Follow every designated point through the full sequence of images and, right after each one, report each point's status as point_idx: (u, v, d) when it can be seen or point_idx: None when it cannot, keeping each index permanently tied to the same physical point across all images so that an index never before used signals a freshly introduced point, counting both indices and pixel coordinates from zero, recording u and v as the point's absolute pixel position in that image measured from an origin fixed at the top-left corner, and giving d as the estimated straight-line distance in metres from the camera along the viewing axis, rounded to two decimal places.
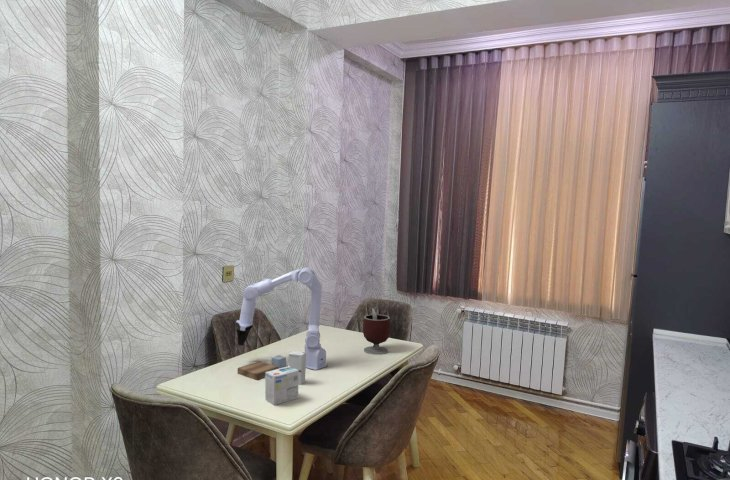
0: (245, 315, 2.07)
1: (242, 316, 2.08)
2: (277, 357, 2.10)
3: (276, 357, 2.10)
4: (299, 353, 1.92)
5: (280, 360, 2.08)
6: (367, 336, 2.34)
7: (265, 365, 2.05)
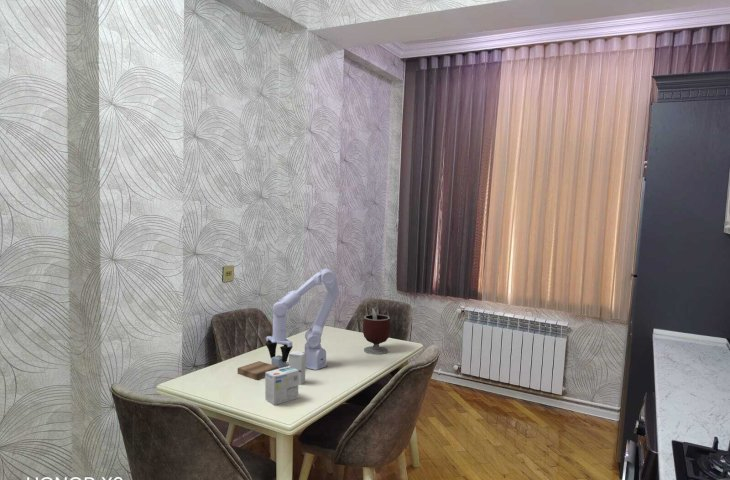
0: (283, 332, 2.08)
1: (280, 334, 2.07)
2: (277, 357, 2.10)
3: (276, 357, 2.10)
4: (299, 353, 1.92)
5: (280, 360, 2.08)
6: (367, 336, 2.34)
7: (265, 365, 2.05)
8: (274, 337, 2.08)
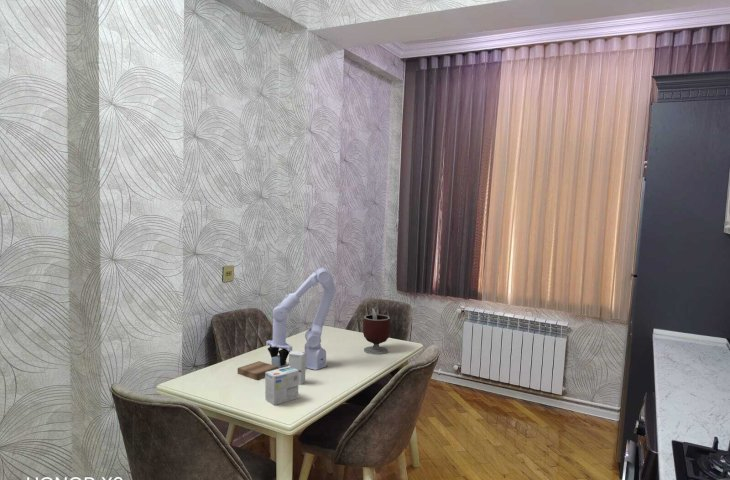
0: (283, 336, 2.08)
1: (280, 338, 2.07)
2: (277, 357, 2.10)
3: (276, 357, 2.10)
4: (299, 353, 1.92)
5: None
6: (367, 336, 2.34)
7: (265, 365, 2.05)
8: (274, 341, 2.08)
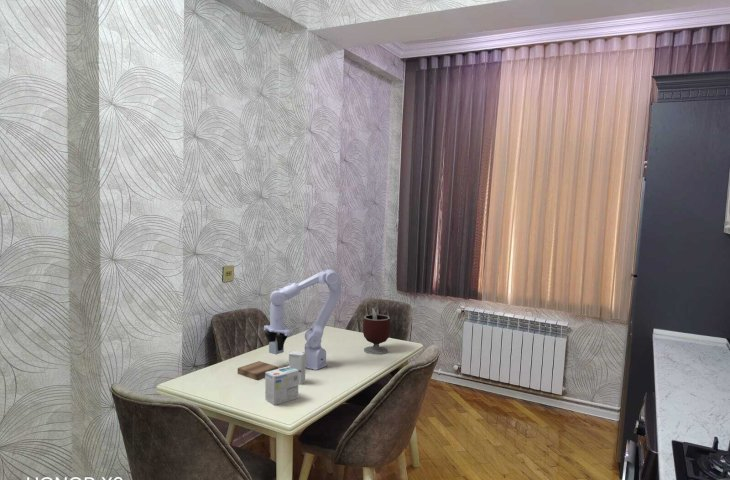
0: (280, 321, 2.06)
1: (277, 323, 2.06)
2: (274, 342, 2.09)
3: (273, 342, 2.09)
4: (299, 353, 1.92)
5: (277, 345, 2.07)
6: (367, 336, 2.34)
7: (265, 365, 2.05)
8: (271, 326, 2.06)
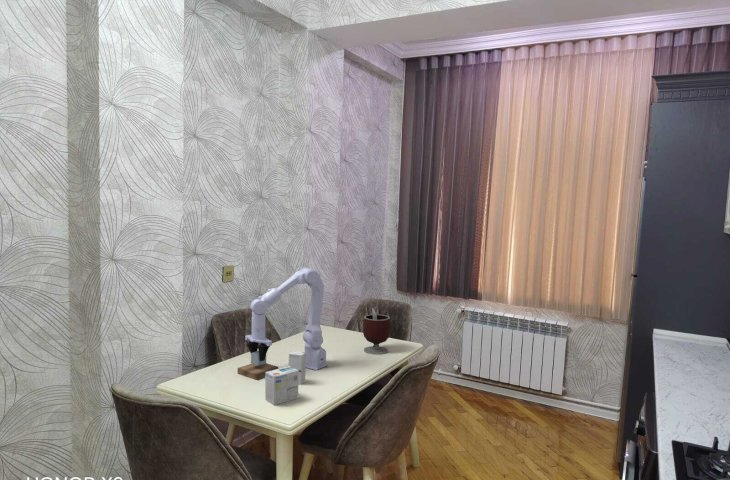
0: (262, 330, 1.99)
1: (259, 333, 1.99)
2: (257, 352, 2.02)
3: (256, 352, 2.02)
4: (299, 353, 1.92)
5: None
6: (367, 336, 2.34)
7: (265, 365, 2.05)
8: (253, 336, 1.99)
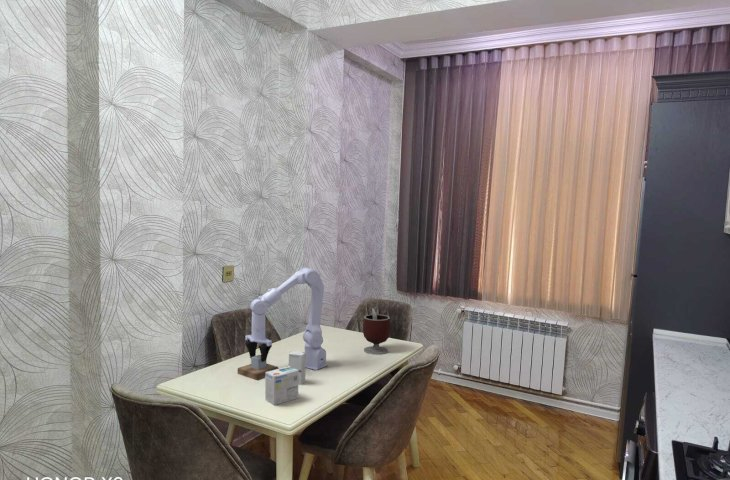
0: (262, 330, 1.99)
1: (259, 333, 1.99)
2: (257, 357, 2.02)
3: (256, 357, 2.02)
4: (299, 353, 1.92)
5: (260, 360, 2.00)
6: (367, 336, 2.34)
7: None
8: (253, 336, 1.99)
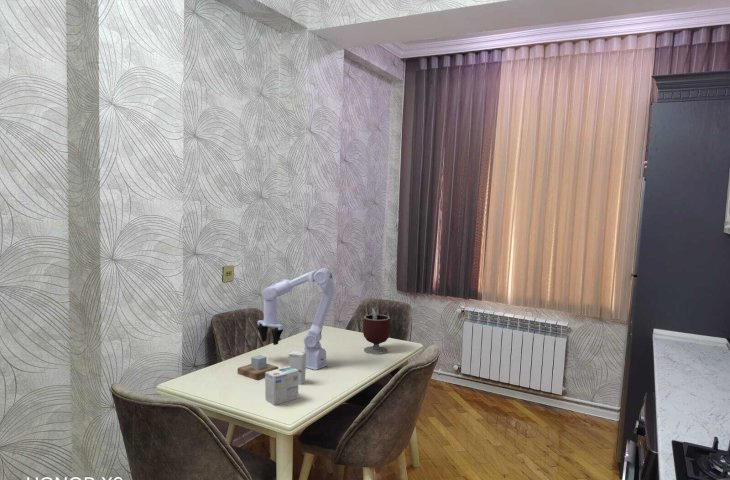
0: (274, 315, 2.12)
1: (271, 317, 2.12)
2: (257, 357, 2.02)
3: (256, 357, 2.02)
4: (299, 353, 1.92)
5: (260, 360, 2.00)
6: (367, 336, 2.34)
7: None
8: (265, 320, 2.12)
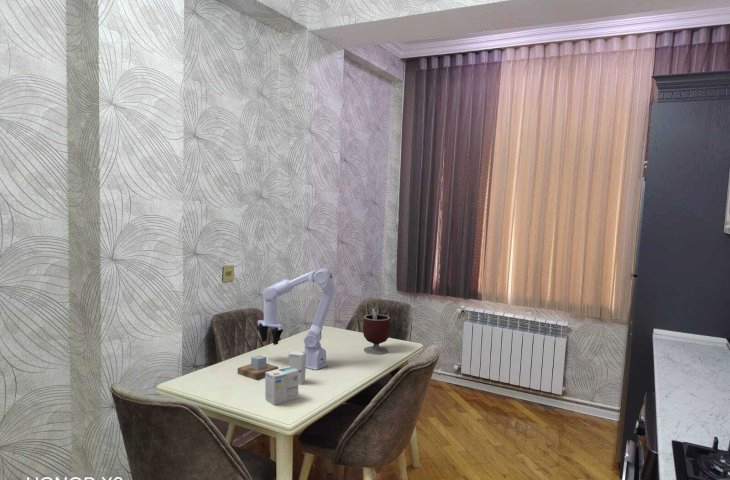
0: (274, 315, 2.12)
1: (271, 317, 2.12)
2: (257, 357, 2.02)
3: (256, 357, 2.02)
4: (299, 353, 1.92)
5: (259, 360, 2.00)
6: (367, 336, 2.34)
7: None
8: (265, 320, 2.12)
